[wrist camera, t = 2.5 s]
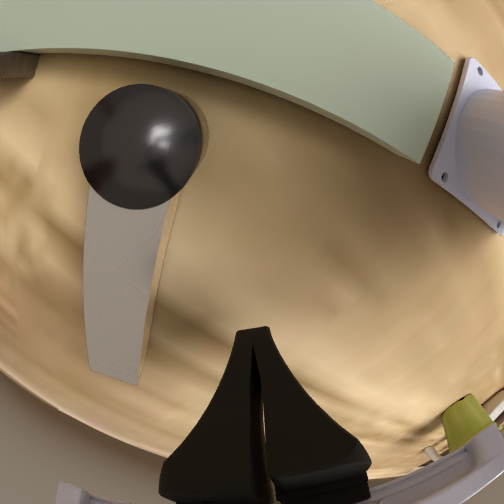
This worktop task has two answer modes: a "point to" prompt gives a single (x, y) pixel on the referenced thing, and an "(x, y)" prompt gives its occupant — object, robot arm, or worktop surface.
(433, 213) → the worktop surface
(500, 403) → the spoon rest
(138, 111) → the latch bar
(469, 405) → the plant pot
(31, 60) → the block
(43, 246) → the worktop surface
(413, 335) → the worktop surface
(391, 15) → the pale green flat bar
